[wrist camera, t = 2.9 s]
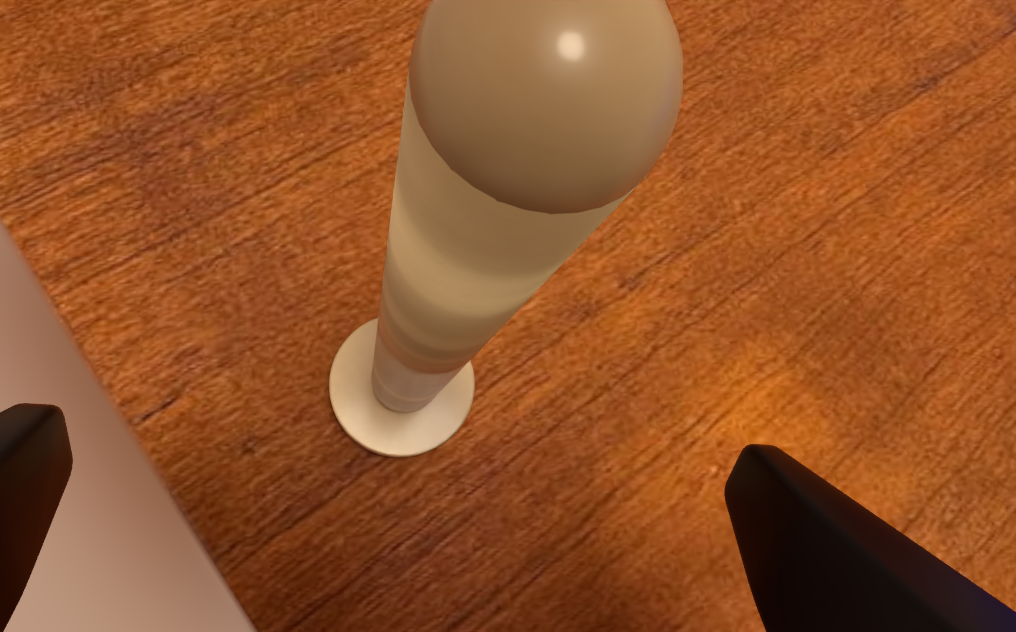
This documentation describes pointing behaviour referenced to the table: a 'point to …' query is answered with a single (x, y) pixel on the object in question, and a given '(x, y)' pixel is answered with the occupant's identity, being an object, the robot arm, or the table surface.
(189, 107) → the table surface
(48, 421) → the robot arm
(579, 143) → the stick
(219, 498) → the table surface
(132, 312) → the table surface
